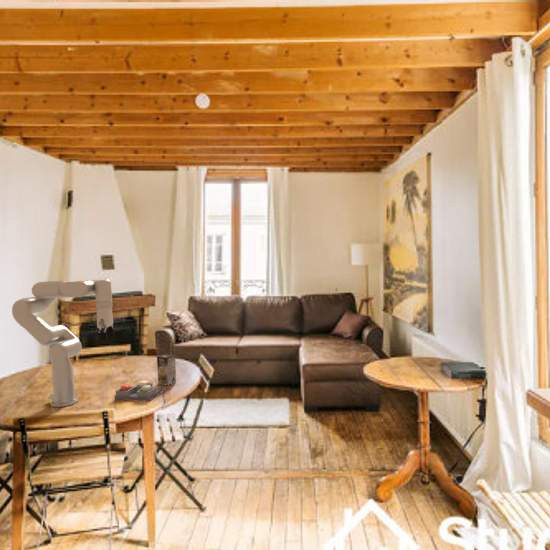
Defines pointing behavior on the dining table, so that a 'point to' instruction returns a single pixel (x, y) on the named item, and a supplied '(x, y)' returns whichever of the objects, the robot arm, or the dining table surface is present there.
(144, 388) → the button sage
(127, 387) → the button red
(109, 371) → the dining table surface
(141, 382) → the button cream
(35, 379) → the dining table surface
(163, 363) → the coffee box
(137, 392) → the button panel
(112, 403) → the dining table surface
